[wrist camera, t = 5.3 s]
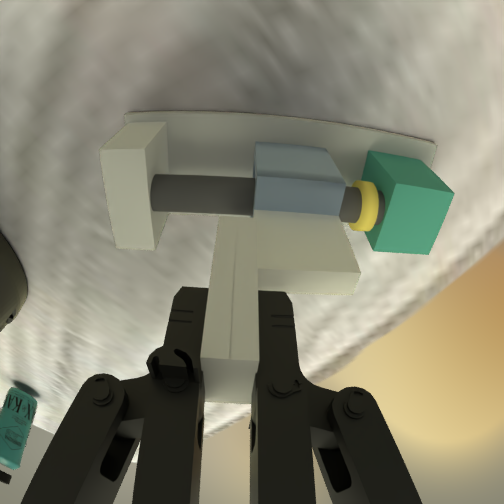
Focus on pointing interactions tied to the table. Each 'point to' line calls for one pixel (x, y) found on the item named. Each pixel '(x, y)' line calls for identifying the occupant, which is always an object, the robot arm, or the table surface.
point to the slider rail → (243, 185)
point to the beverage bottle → (15, 428)
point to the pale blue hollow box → (301, 222)
